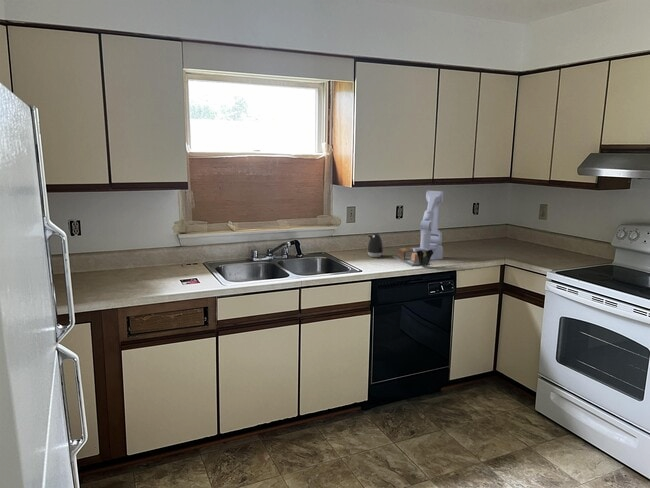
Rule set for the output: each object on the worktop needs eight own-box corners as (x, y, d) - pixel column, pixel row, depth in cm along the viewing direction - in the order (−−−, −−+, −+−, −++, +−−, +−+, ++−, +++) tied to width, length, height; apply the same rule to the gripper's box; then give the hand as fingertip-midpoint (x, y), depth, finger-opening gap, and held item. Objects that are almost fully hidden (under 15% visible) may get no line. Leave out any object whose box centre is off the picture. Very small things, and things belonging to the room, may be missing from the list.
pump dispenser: (364, 255, 320) (364, 232, 317) (378, 254, 324) (379, 231, 321) (370, 258, 311) (371, 235, 308) (385, 257, 315) (386, 234, 312)
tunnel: (413, 256, 316) (414, 247, 314) (420, 259, 308) (420, 249, 307) (397, 257, 312) (398, 248, 311) (403, 260, 304) (404, 250, 303)
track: (409, 256, 321) (409, 254, 321) (429, 264, 298) (429, 262, 298) (393, 257, 317) (393, 255, 317) (412, 266, 294) (412, 264, 294)
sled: (417, 259, 307) (418, 251, 306) (430, 264, 293) (430, 256, 292) (407, 259, 304) (408, 252, 303) (419, 265, 291) (420, 257, 290)
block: (417, 258, 304) (417, 252, 303) (420, 260, 300) (420, 253, 300) (411, 259, 303) (411, 252, 302) (414, 260, 299) (414, 254, 298)
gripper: (417, 242, 284) (416, 265, 287) (439, 241, 289) (438, 263, 291) (411, 240, 290) (410, 262, 293) (433, 238, 295) (432, 261, 298)
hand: (424, 262), depth 293 cm, fingers closed on sled, 4 cm apart
